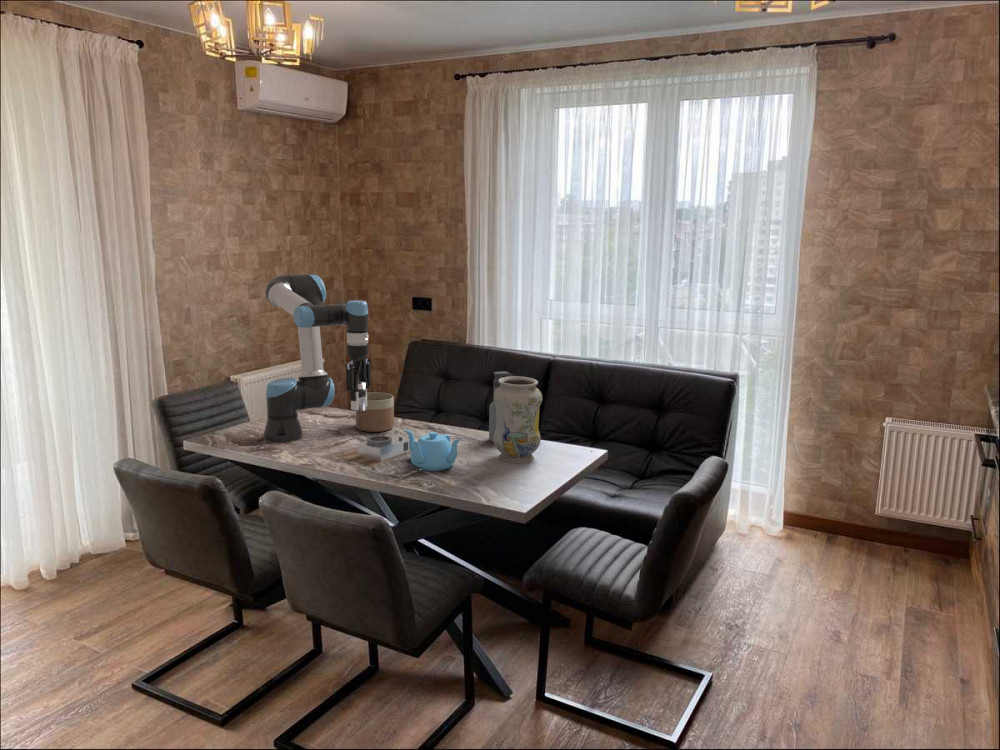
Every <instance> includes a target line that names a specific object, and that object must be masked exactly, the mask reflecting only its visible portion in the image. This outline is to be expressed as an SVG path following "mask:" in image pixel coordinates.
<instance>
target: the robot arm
mask: <svg viewBox="0 0 1000 750" xmlns="http://www.w3.org/2000/svg"><path fill="white" fill-rule="evenodd" d="M264 295H265V298H266V300H267V302H269V303H270V304H271V305H272V306H274V307H277V308H281V309H283V310H284V311H286V312H287V313H288V314H290V315H291V316H293V321H294V323H295V325H296V327H297V333H298V342H299V343H298V344H299V353H300V354H299V355H300V363H301V364H300V365H301V372H300V373H299V375H298V380H297V379H296V378H294V377H283V378H279V379H274V380H272V381H269V383H267V385H266V393H265V397H266V415H267V419H266V423H265V427H264V431H263V440H264V441H267V442H272V443H289V442H293V441H297V440H300V439H302V438H303V429H302V426H301V424H300V421H299V417H298V416H299V415H298V411H300V410H310V409H317V408H318V409H321V408H324V407H328V406H330V405H331V404H332V402H333V401H334V398H335V383H334V381H333V379H332V378H330V377H329V374H328V372H327V371H325V369H324V360H323V352H322V351H323V350H322V349H323V348H322V338H321V328H320V327H331V326H332V327H333V326H346V343H347V346H346V354H347V355H348V356H349V362H348V363H345V364H344V367H345V383H346V384H345V386H346V388H345V389H346V391H347V392H349V394H350V410H352V409H354V410H359V401H358V392H357V385H358V381H364V382H366V407H367V393H368V389H370V388H371V384H372V383H371V381H372V380H371V362H372V359H371V358H367V356H368V355H369V353H370V352H369V349H370V348H369V344H368V343H369V309H368V303H367V301H366V300H360V299H359V300H357V299H356V300H347V301H346V303H343V302H342V303H335V304H323V303H325V301H326V298H327V297H326V296H327V291H326V286H325V283H324V281H323V280H322V278H321V277H320V276H319V275H316V274H309V273H307V274H287V275H286V274H284V275H283V274H282V275H278V276H275V277H273V278H272V279H270V280H269V281H268V282H267V284H266V286H265V289H264ZM322 304H323V305H322Z"/></svg>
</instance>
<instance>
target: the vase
mask: <svg viewBox="0 0 1000 750" xmlns="http://www.w3.org/2000/svg"><path fill="white" fill-rule="evenodd" d="M498 382H499V384H500V387H498V388H497V389H496V391H495V393H494V392H493V401H494V402H495V405H496V430H495V433H494V436H493V441H494V442H493V445H494V446H495V448H496V449H497V451H498V452H499V453H500V454H499V456H498V458H499V459H500V461H503V462H506V463H511V464H524V463H530V462H532V461H533V460H534V459H535V458H534V455H533V454H534V453H535V452H536V451H537V450H538V449H539V447H540V444H541V439H542V438H541V434H540V431H539V421H540V408H541V407H540V406H541V405H542V402H543V394H542V392H541V390H540V389H539V388H538V387H537V385H538V384H539V381H538V380H537V379H535V378H532V377H527V376H519V375H517V376H516V375H514V376H509V377H508V376H502V378H500V379H499V380H498Z"/></svg>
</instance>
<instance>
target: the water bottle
mask: <svg viewBox="0 0 1000 750" xmlns="http://www.w3.org/2000/svg"><path fill="white" fill-rule="evenodd" d="M493 374H494V379H493V380H492V381H493V383H492V384H493V386H492V387H493V394H494V393H495V391H496V389H497V388H498V387H500V384H499V382H498V380H499V379H500V378H503V377H509V376H515V375H514V374H512V373H511V372H509V371H494V372H493ZM488 411H489V417H488V418H489V420H488V421H489V422H488V440H489V441H490V442H492V443H494V441H493V436H494V433H495V430H496V405H495V402H494V400H492V402H491V403H490V404H489V410H488Z"/></svg>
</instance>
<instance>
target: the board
mask: <svg viewBox="0 0 1000 750" xmlns="http://www.w3.org/2000/svg"><path fill="white" fill-rule="evenodd" d="M408 454H411V451H410V452H409V451H408V453H405V454H402V455H399V456H397V457H394V458H391V459H388V460H385V461H383V462H378V461H374V460H370V459H366V458H362V457H358V448H356V449H353V450H350V451H347V452H344V453H340V454H338V455H335V457H337V458H341V459H344V460H349V461H353V462H357V463H360V464H365V465H369V466H372V467H375V466H378V465H381V464H383V463H386V462H388V461H392V460H394V459H397V458H400V457H403V456H406V455H408Z"/></svg>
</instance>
